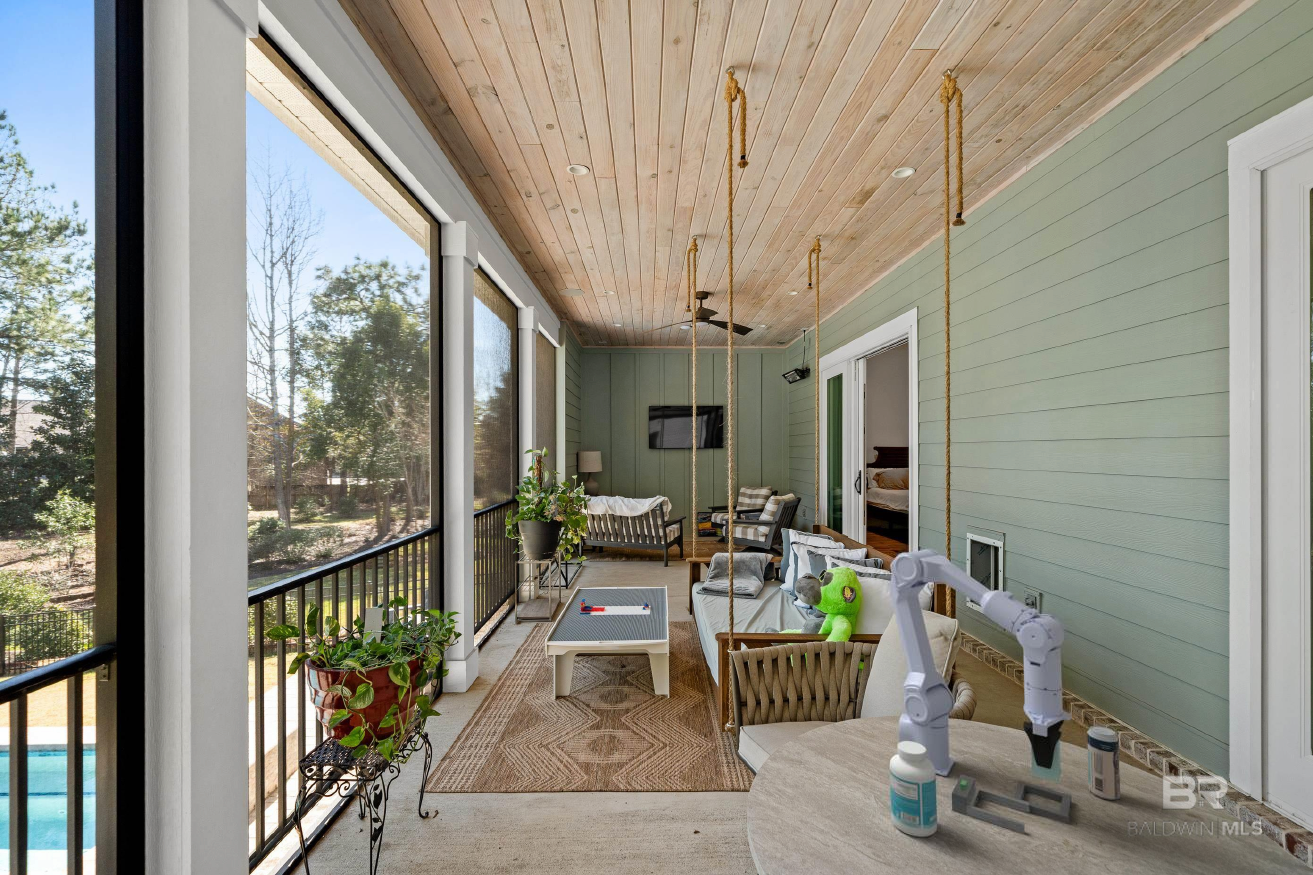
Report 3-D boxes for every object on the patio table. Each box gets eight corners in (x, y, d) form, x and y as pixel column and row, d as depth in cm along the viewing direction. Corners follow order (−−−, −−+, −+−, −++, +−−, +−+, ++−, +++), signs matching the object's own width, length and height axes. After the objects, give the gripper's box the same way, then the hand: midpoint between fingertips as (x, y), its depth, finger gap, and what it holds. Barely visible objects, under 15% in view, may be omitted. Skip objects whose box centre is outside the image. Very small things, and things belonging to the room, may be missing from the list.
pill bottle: (925, 812, 107) (924, 736, 107) (945, 839, 100) (943, 757, 100) (884, 812, 107) (882, 736, 107) (900, 839, 100) (899, 757, 100)
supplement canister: (1125, 802, 110) (1124, 737, 110) (1096, 800, 110) (1095, 734, 111) (1111, 788, 114) (1109, 725, 115) (1083, 785, 115) (1082, 723, 116)
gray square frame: (1012, 806, 109) (1012, 799, 109) (1018, 786, 115) (1018, 780, 115) (1067, 823, 103) (1067, 816, 103) (1071, 801, 110) (1071, 795, 110)
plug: (1032, 774, 106) (1031, 736, 106) (1034, 765, 109) (1033, 727, 109) (1059, 781, 103) (1057, 742, 104) (1060, 772, 107) (1059, 733, 107)
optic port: (952, 809, 108) (951, 789, 108) (961, 789, 114) (961, 770, 114) (1024, 833, 101) (1023, 812, 101) (1029, 811, 107) (1029, 791, 107)
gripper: (1067, 703, 99) (1069, 786, 98) (1071, 677, 110) (1074, 751, 110) (1018, 693, 103) (1020, 772, 102) (1027, 669, 114) (1029, 740, 114)
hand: (1044, 761), depth 106 cm, fingers closed on plug, 4 cm apart
